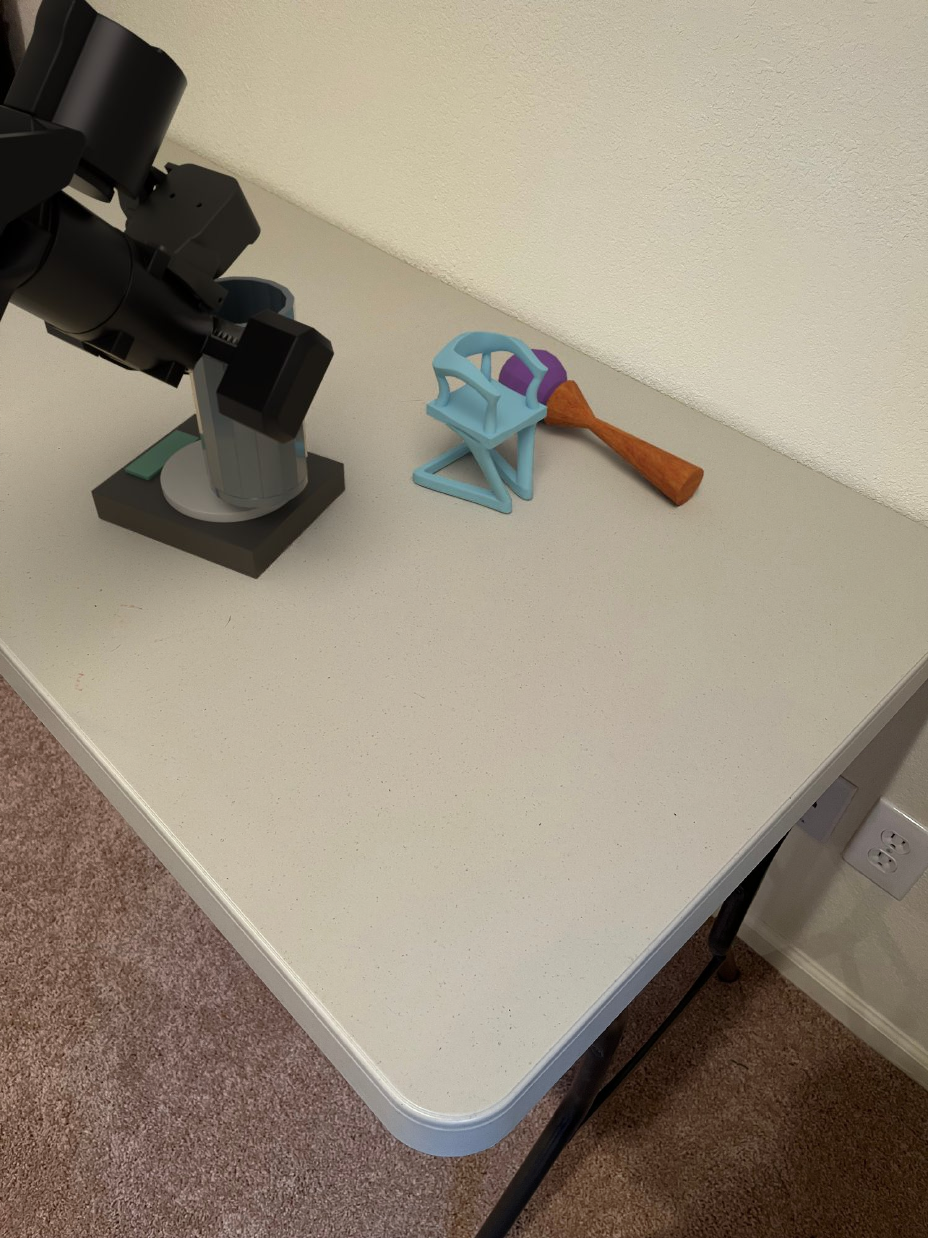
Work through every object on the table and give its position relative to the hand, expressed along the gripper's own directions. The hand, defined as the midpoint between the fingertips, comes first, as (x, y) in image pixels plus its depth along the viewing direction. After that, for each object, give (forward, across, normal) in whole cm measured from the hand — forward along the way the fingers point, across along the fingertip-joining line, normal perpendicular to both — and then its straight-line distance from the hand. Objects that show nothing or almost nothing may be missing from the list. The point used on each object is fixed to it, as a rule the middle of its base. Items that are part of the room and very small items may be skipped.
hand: (263, 386), depth 60 cm
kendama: (+25, -14, -8) cm, 30 cm away
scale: (+8, +5, +9) cm, 13 cm away
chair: (+18, -9, -1) cm, 20 cm away
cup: (+4, 0, +6) cm, 7 cm away
